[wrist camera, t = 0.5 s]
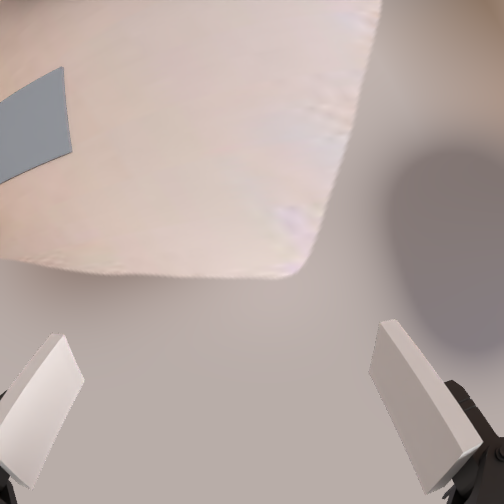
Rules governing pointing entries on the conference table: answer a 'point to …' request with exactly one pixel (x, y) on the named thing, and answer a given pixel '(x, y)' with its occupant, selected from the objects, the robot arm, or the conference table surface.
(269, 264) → the conference table surface
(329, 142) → the conference table surface
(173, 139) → the conference table surface
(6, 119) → the slate mat
